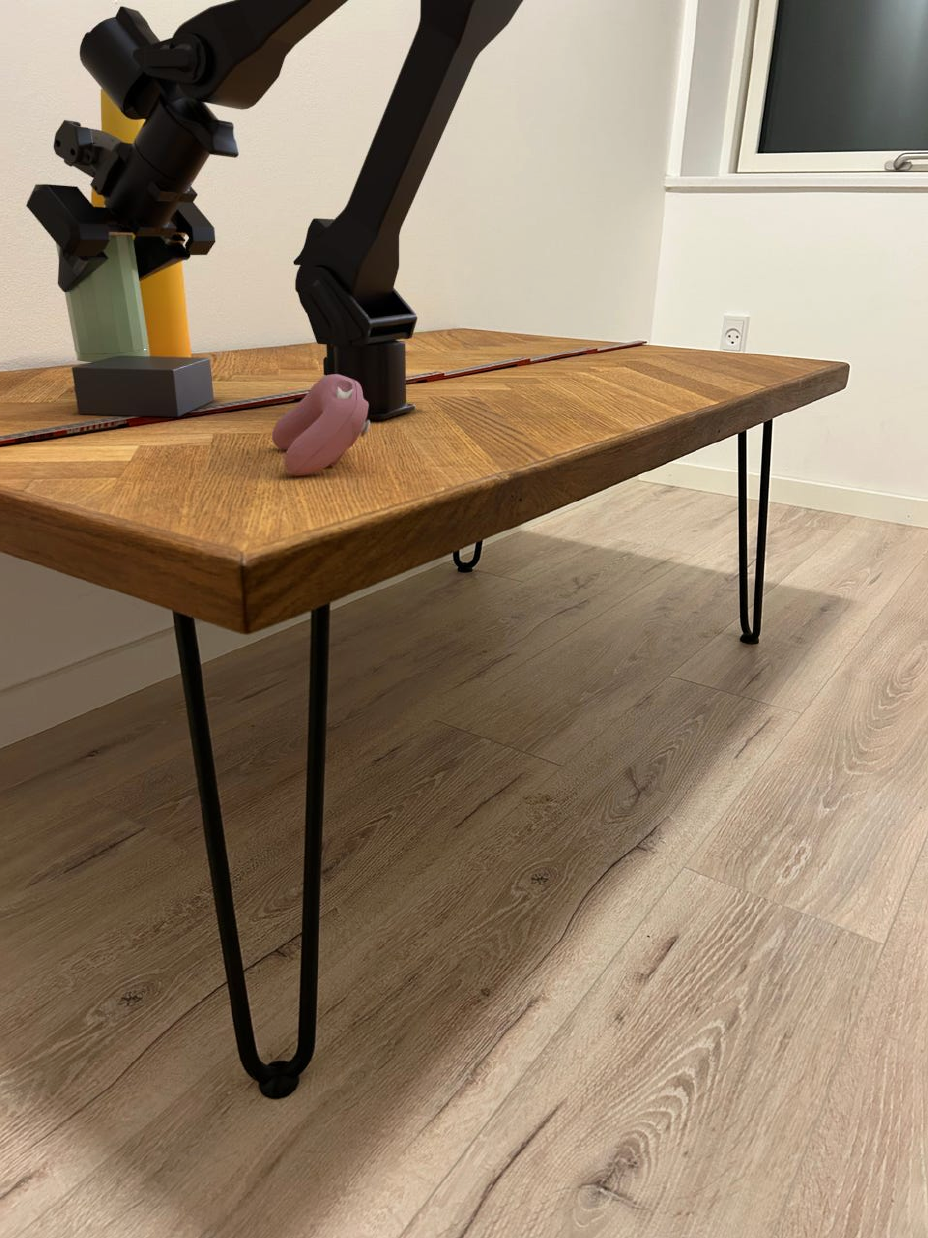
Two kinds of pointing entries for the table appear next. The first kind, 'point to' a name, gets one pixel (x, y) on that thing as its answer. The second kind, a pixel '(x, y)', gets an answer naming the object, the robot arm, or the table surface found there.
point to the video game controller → (322, 425)
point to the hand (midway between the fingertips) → (91, 287)
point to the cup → (109, 307)
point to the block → (143, 386)
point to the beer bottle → (165, 286)
